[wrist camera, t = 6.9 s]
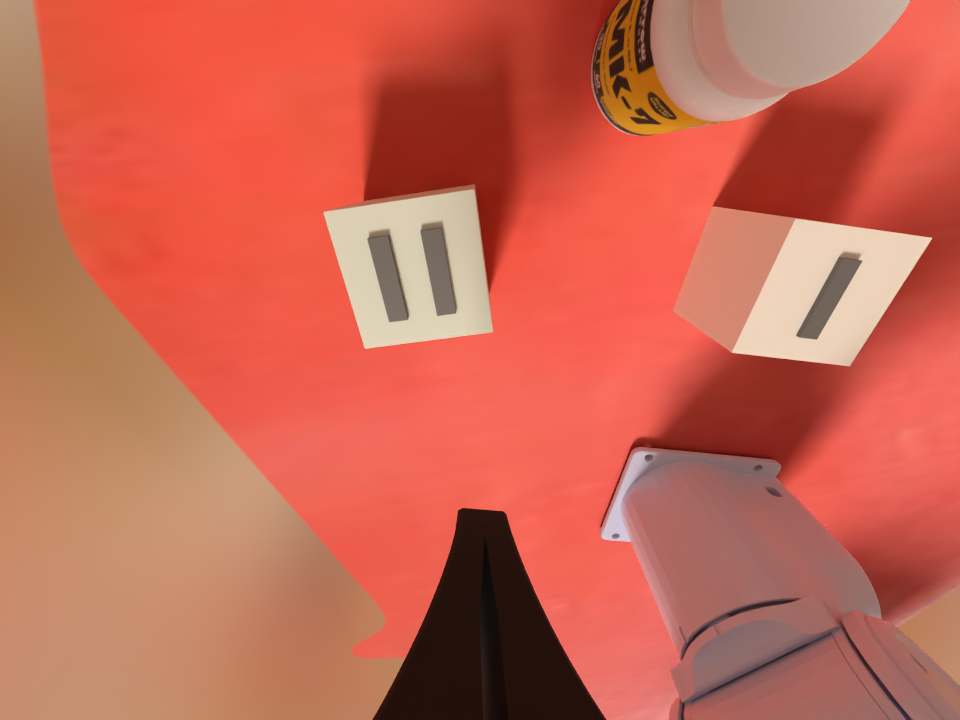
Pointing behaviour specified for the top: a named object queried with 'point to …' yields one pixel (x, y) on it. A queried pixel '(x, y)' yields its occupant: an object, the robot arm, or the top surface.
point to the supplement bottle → (724, 56)
